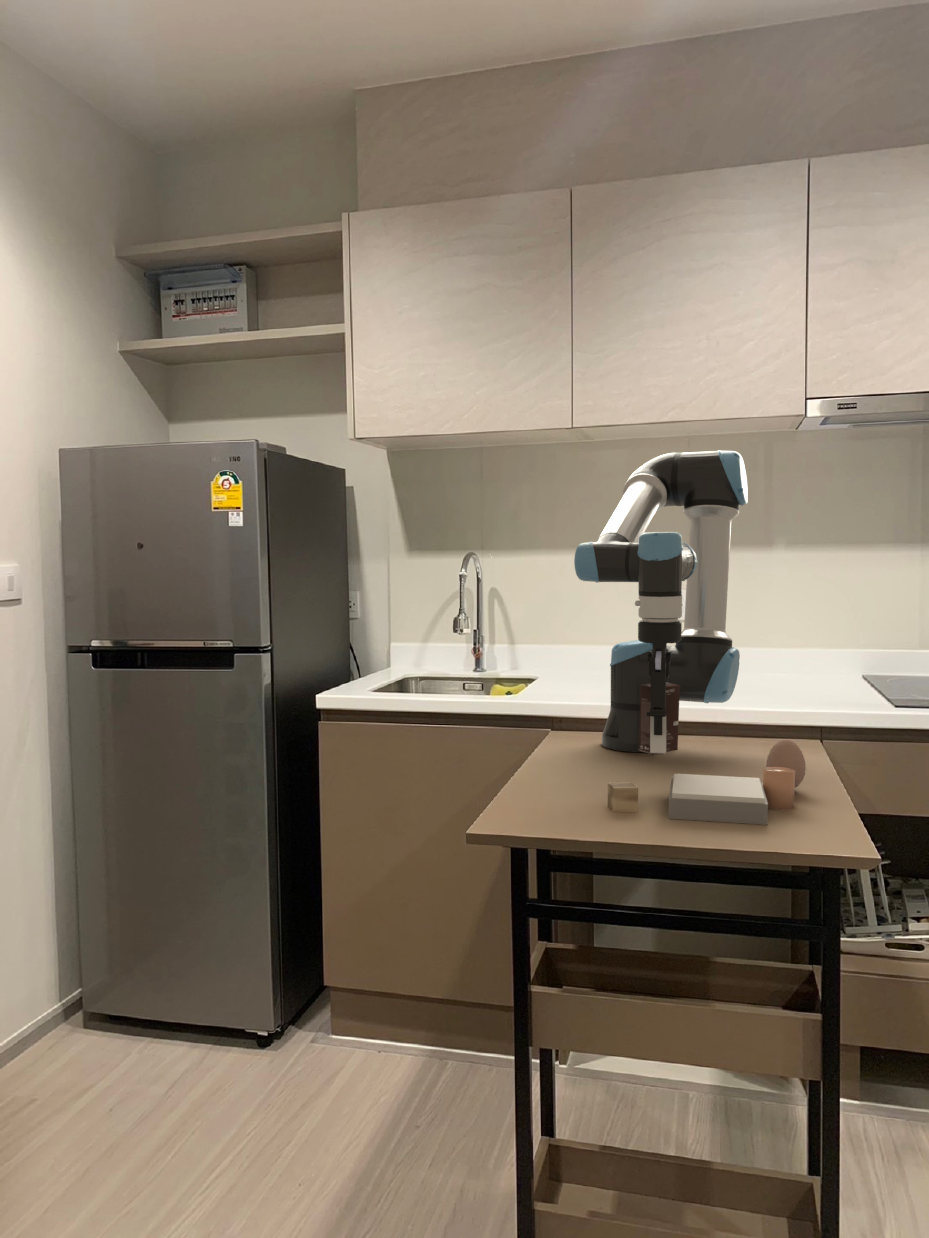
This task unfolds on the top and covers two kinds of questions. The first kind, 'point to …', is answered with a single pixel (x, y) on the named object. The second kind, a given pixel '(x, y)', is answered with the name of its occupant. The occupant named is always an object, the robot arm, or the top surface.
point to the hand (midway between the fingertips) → (659, 747)
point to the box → (671, 715)
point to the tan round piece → (779, 787)
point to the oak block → (623, 797)
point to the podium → (718, 799)
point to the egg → (788, 758)
